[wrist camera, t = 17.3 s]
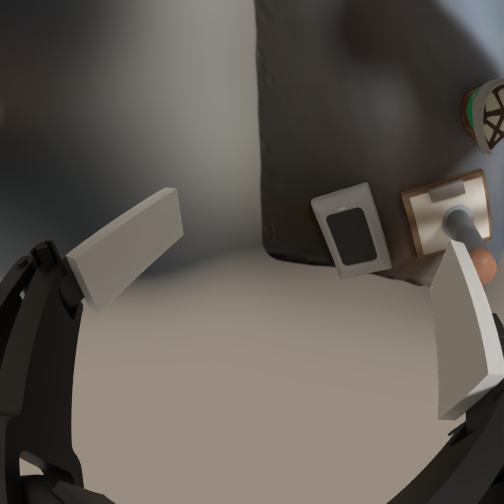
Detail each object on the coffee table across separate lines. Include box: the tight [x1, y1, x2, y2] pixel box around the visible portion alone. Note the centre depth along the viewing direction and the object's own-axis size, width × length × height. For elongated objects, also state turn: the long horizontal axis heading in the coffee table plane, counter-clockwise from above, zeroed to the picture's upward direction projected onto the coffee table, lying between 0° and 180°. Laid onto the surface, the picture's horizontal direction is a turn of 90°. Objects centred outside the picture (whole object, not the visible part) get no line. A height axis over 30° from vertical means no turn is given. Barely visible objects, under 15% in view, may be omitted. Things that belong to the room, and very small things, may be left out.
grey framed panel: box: [311, 182, 391, 278], centre depth 42 cm, size 10×4×15 cm
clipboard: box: [400, 169, 492, 260], centre depth 33 cm, size 12×15×2 cm
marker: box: [446, 209, 497, 286], centre depth 28 cm, size 5×5×13 cm
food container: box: [461, 78, 504, 154], centre depth 19 cm, size 12×6×10 cm, turn 143°
